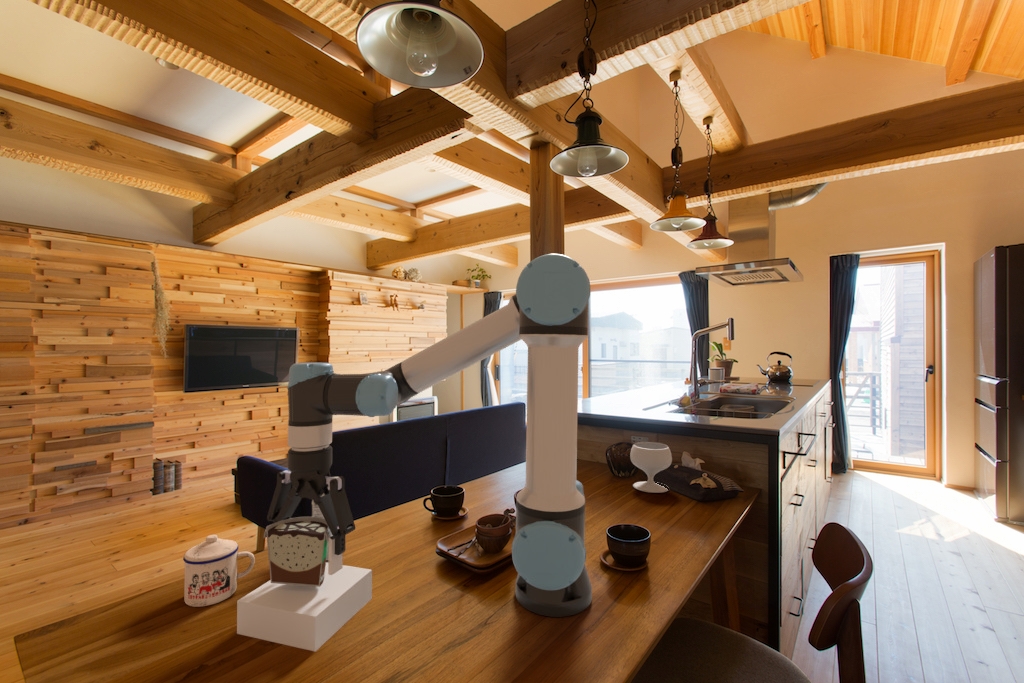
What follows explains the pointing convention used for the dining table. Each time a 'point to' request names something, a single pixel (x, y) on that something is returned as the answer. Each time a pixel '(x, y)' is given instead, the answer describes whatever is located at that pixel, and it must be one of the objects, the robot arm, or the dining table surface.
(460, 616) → the dining table surface
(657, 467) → the chalice
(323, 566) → the food container
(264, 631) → the white block
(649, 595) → the dining table surface
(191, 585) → the teacup with lid
